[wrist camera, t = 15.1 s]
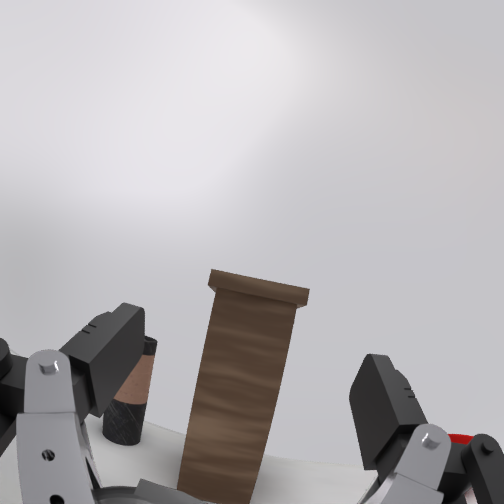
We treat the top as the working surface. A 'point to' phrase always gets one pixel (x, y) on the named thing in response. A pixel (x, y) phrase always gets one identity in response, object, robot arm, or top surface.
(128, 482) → the top surface
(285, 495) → the top surface
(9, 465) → the top surface
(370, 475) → the top surface
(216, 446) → the walnut pedestal
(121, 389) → the travel mug
